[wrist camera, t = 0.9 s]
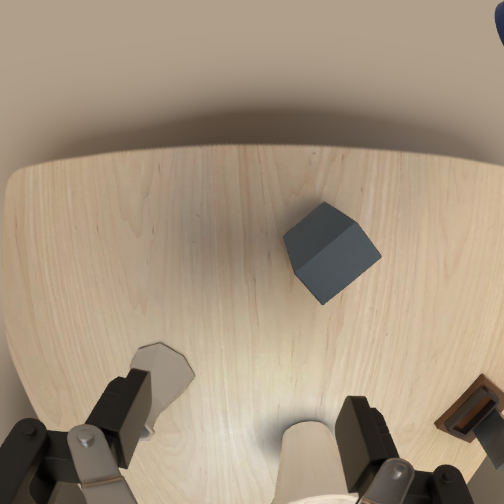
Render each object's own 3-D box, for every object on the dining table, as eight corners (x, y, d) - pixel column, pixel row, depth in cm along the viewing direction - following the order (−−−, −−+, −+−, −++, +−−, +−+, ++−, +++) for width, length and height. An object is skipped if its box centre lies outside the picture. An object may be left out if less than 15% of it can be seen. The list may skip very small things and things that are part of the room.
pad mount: (481, 373, 34) (521, 421, 23) (508, 396, 36) (541, 436, 25) (433, 423, 36) (462, 476, 26) (467, 438, 38) (493, 483, 27)
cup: (347, 446, 37) (366, 521, 25) (277, 462, 38) (280, 539, 26) (338, 399, 35) (362, 485, 22) (257, 419, 36) (256, 506, 23)
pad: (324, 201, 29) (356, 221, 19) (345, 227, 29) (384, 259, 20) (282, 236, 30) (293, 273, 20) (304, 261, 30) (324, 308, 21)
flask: (160, 331, 33) (128, 390, 23) (206, 376, 34) (191, 441, 24) (120, 362, 34) (86, 417, 24) (164, 401, 35) (142, 462, 26)
